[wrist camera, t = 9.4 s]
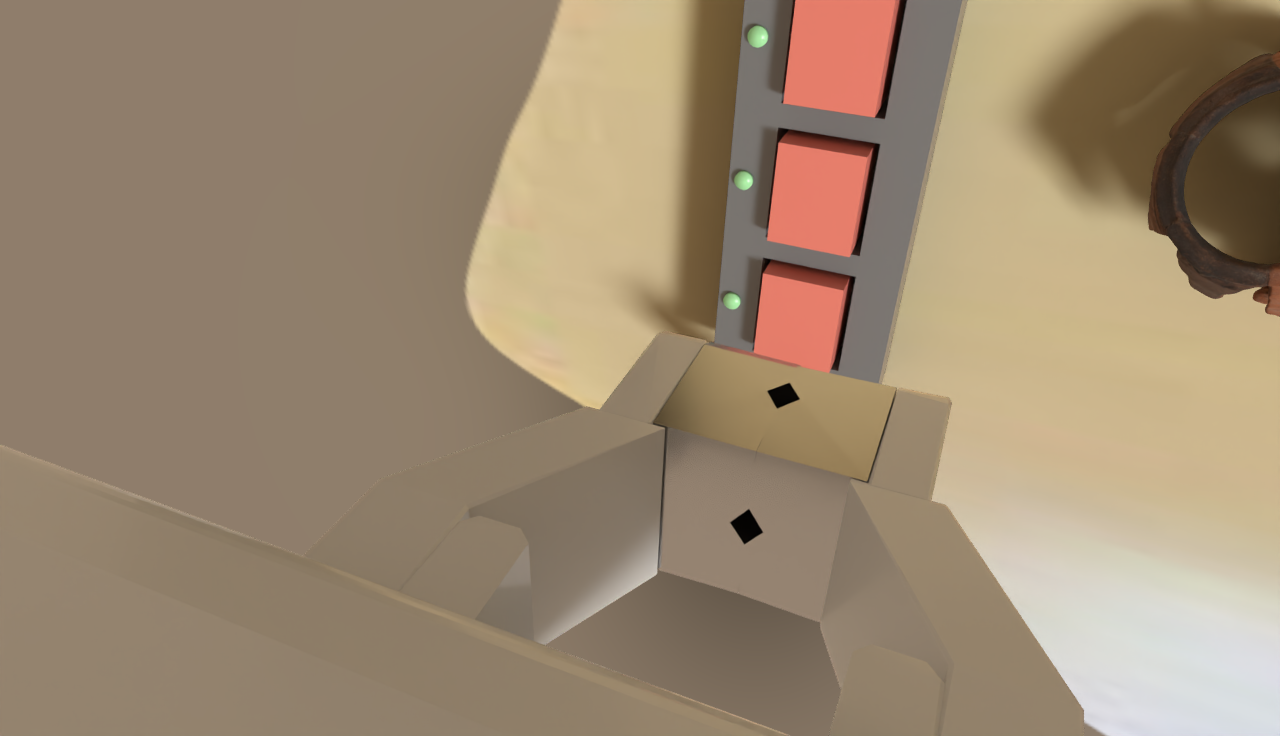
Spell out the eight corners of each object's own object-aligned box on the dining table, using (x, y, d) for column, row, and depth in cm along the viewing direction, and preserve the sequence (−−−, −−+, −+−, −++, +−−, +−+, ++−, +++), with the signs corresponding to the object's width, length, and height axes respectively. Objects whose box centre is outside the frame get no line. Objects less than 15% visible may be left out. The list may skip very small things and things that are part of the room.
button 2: (797, 120, 39) (778, 142, 36) (880, 133, 38) (867, 157, 35) (785, 214, 41) (767, 240, 39) (863, 229, 40) (849, 257, 38)
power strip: (785, -209, 33) (761, -206, 31) (1011, -198, 31) (1004, -194, 29) (730, 337, 47) (711, 368, 45) (884, 373, 45) (872, 409, 42)
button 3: (780, 245, 42) (763, 273, 40) (857, 261, 41) (843, 290, 39) (770, 325, 45) (753, 356, 42) (842, 341, 44) (828, 374, 41)
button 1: (816, -30, 35) (797, -16, 33) (909, -20, 34) (896, -4, 32) (801, 82, 38) (783, 103, 36) (887, 95, 37) (874, 117, 34)
